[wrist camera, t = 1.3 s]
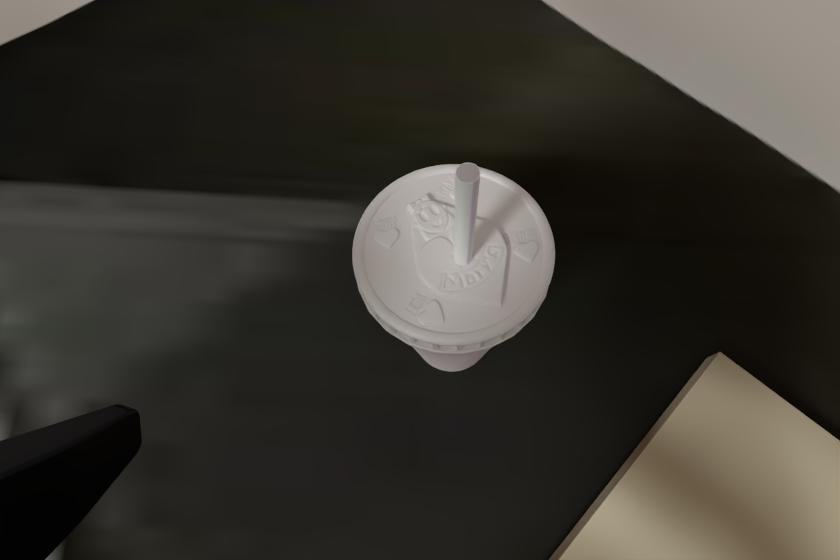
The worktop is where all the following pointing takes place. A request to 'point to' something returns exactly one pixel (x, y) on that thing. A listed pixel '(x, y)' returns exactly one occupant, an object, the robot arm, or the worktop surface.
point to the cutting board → (719, 481)
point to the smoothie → (453, 261)
